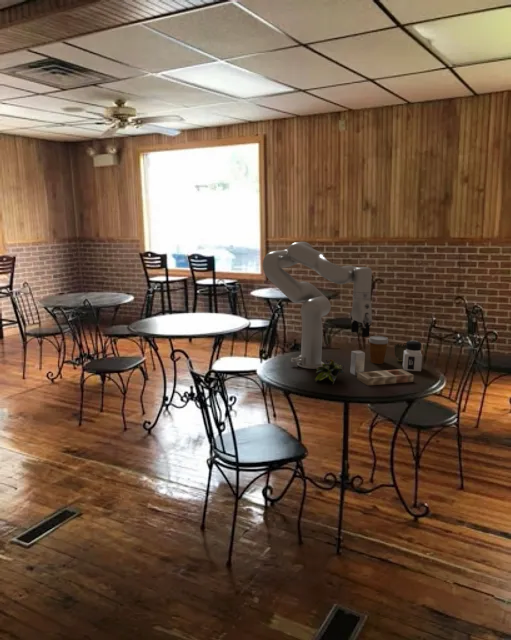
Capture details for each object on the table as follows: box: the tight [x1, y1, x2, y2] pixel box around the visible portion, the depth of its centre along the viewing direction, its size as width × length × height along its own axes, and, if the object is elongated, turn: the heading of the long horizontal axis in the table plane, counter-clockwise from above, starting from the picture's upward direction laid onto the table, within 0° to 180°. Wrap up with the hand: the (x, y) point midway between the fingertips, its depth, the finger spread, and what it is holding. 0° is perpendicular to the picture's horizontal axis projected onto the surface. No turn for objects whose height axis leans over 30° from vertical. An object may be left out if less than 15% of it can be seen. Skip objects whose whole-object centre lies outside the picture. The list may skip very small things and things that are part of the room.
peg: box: [349, 350, 366, 376], centre depth 237 cm, size 4×4×10 cm
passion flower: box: [314, 359, 345, 385], centre depth 224 cm, size 11×11×12 cm
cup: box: [393, 343, 406, 363], centre depth 258 cm, size 8×7×8 cm
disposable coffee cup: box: [368, 335, 389, 365], centre depth 256 cm, size 10×10×12 cm
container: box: [402, 340, 423, 372], centre depth 246 cm, size 8×8×13 cm
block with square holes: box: [356, 368, 415, 386], centre depth 228 cm, size 22×9×3 cm, turn 108°
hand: (360, 334), depth 234 cm, fingers open, 9 cm apart
